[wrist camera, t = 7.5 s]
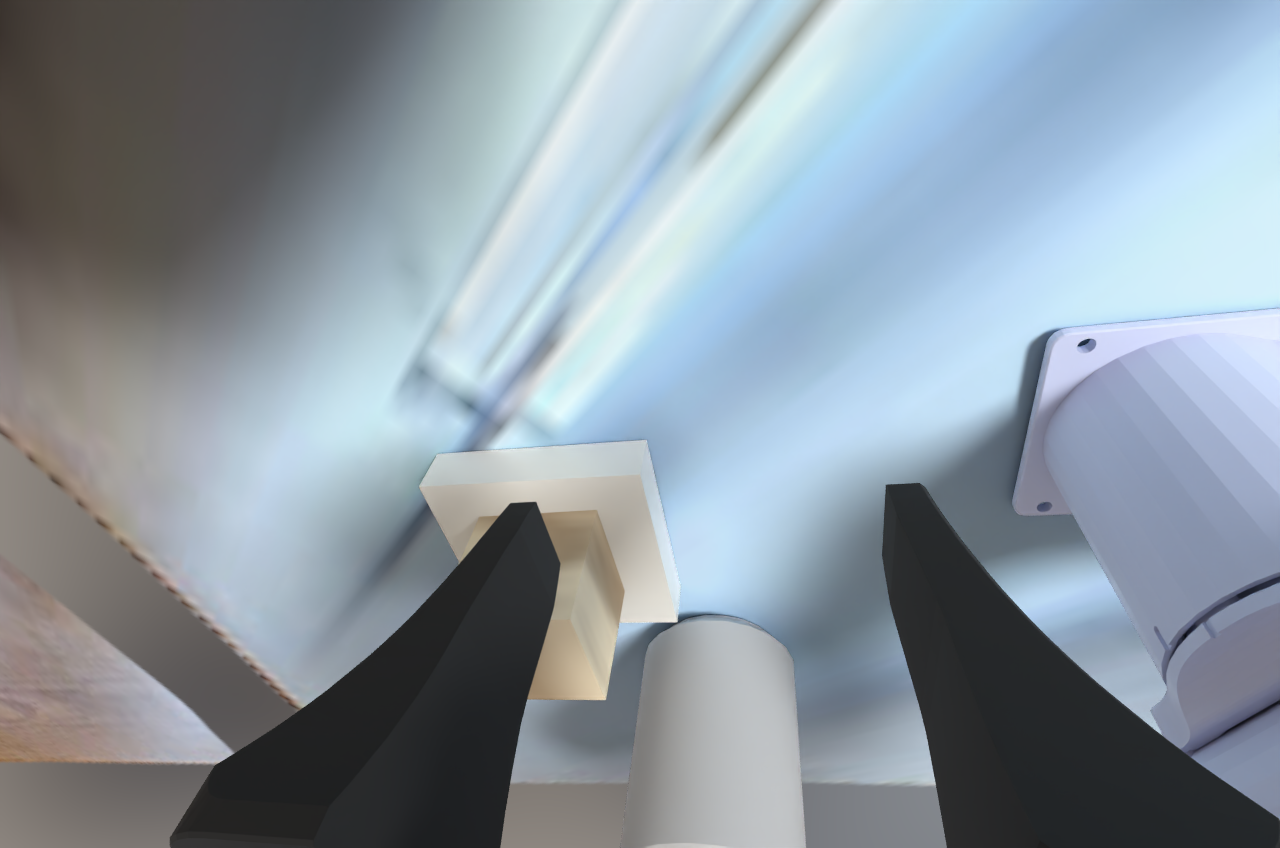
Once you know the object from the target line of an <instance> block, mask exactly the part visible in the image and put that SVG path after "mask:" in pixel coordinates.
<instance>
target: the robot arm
mask: <svg viewBox="0 0 1280 848" xmlns="http://www.w3.org/2000/svg"><path fill="white" fill-rule="evenodd" d="M1085 339H1090V341H1089V343H1087V344H1086V345H1084V346H1080V347H1078V344H1079V343H1080V342H1081V341H1083V340H1085ZM1043 502H1045V503H1044V504H1040V503H1043ZM1012 505H1013V508H1014V510H1015V511H1016V513H1017V514H1019V515H1022V516H1041V515H1068V514H1073V516H1074V518H1075V520H1076V521H1077V523H1078V525H1079V527H1080V529H1081V531H1082V532H1083V534H1084V536H1085V538H1086V540H1087V542H1088V543H1089V545H1090V547H1091V549H1092V551H1093V553H1094V554H1095V556H1096V558H1097V560H1098V562H1099V563H1100V565H1101V567H1102V569H1103V571H1104V573H1105V574H1106V576H1107V578H1108V580H1109V582H1110V584H1111V585H1112V587H1113V589H1114V591H1115V593H1116V595H1117V596H1118V598H1119V600H1120V602H1121V604H1122V605H1123V607H1124V609H1125V611H1126V613H1127V615H1128V616H1129V618H1130V620H1131V622H1132V624H1133V626H1134V627H1135V629H1136V631H1137V633H1138V635H1139V637H1140V638H1141V640H1142V642H1143V644H1144V646H1145V648H1146V649H1147V651H1148V653H1149V655H1150V657H1151V658H1152V660H1153V662H1154V664H1155V666H1156V668H1157V669H1158V671H1159V673H1160V675H1161V677H1162V679H1163V680H1164V682H1165V684H1166V686H1167V691H1166V694H1165V696H1164V697H1163V698H1162V700H1161V701H1160V702H1159V703H1157V704H1156V705H1155V706H1154V707H1152V709H1151V710H1150V711H1151V713H1152V715H1153V717H1154V719H1155V721H1156V723H1157V725H1158V727H1159V729H1160V731H1161V733H1162V735H1163V736H1162V735H1161V734H1159V733H1158V732H1157V731H1155V730H1154V729H1153V728H1152V727H1150V726H1149V725H1148V724H1147V723H1146V722H1144V721H1143V720H1142V719H1141V718H1140V717H1138V716H1137V715H1136V714H1135V713H1133V712H1132V711H1131V710H1130V709H1129V708H1127V707H1126V706H1125V705H1124V704H1122V703H1121V702H1120V701H1119V700H1118V699H1116V698H1115V697H1114V696H1113V695H1111V694H1110V693H1109V692H1108V691H1107V690H1105V689H1104V688H1103V687H1102V686H1100V685H1099V684H1098V683H1097V682H1096V681H1095V680H1094V679H1092V678H1091V677H1090V676H1089V675H1088V674H1087V673H1086V672H1085V671H1084V670H1082V669H1081V668H1080V667H1079V666H1078V665H1077V664H1076V663H1075V662H1074V661H1072V660H1071V659H1070V658H1069V657H1068V656H1067V655H1066V654H1065V653H1064V652H1063V651H1062V650H1061V649H1060V648H1059V647H1058V646H1057V645H1055V644H1054V643H1053V642H1052V641H1051V640H1050V639H1049V638H1048V637H1047V636H1046V635H1045V634H1044V633H1043V632H1042V631H1041V630H1040V629H1039V628H1038V627H1037V626H1036V625H1035V624H1034V623H1033V622H1032V621H1031V620H1030V619H1029V618H1028V617H1027V616H1026V615H1025V613H1024V612H1023V611H1022V610H1021V609H1020V608H1019V607H1018V606H1017V605H1016V604H1015V603H1014V602H1013V600H1012V599H1011V598H1010V597H1009V596H1008V595H1007V594H1006V593H1005V592H1004V591H1003V590H1002V588H1001V587H1000V586H999V585H998V584H997V583H996V581H995V580H994V579H993V578H992V577H991V576H990V574H989V573H988V572H987V571H986V570H985V568H984V567H983V566H982V565H981V564H980V562H979V561H978V560H977V559H976V557H975V556H974V555H973V554H972V553H971V551H970V550H969V549H968V548H967V546H966V545H965V544H964V542H963V541H962V540H961V539H960V537H959V536H958V535H957V533H956V532H955V530H954V529H953V528H952V526H951V525H950V524H949V522H948V521H947V520H946V518H945V517H944V515H943V514H942V512H941V511H940V510H939V508H938V507H937V505H936V504H935V502H934V501H933V499H932V497H931V496H930V494H929V493H928V491H927V489H926V488H925V487H924V486H923V485H921V484H920V483H911V484H890V485H886V494H885V512H884V530H883V549H882V557H883V564H884V570H885V576H886V582H887V588H888V594H889V600H890V605H891V609H892V612H893V616H894V619H895V623H896V626H897V630H898V633H899V637H900V641H901V644H902V648H903V651H904V654H905V658H906V661H907V665H908V668H909V672H910V675H911V679H912V682H913V686H914V689H915V693H916V696H917V700H918V703H919V707H920V710H921V714H922V718H923V722H924V726H925V730H926V735H927V739H928V745H929V750H930V755H931V761H932V766H933V772H934V777H935V782H936V788H937V793H938V798H939V805H940V810H941V815H942V822H943V827H944V833H945V838H946V844H947V848H1280V308H1277V309H1266V310H1256V311H1245V312H1234V313H1223V314H1212V315H1201V316H1191V317H1180V318H1169V319H1158V320H1147V321H1136V322H1126V323H1115V324H1104V325H1093V326H1082V327H1071V328H1065V329H1061V330H1059V331H1057V332H1055V333H1053V334H1052V335H1051V336H1050V337H1049V339H1048V341H1047V343H1046V348H1045V353H1044V357H1043V362H1042V366H1041V371H1040V375H1039V380H1038V385H1037V389H1036V394H1035V398H1034V403H1033V408H1032V412H1031V417H1030V421H1029V426H1028V431H1027V435H1026V440H1025V444H1024V449H1023V454H1022V458H1021V463H1020V467H1019V472H1018V476H1017V481H1016V486H1015V490H1014V495H1013V499H1012ZM560 565H561V563H560V561H559V558H558V556H557V553H556V551H555V548H554V545H553V543H552V540H551V538H550V535H549V533H548V530H547V528H546V525H545V523H544V520H543V518H542V515H541V513H540V510H539V508H538V505H537V502H519V503H510V504H509V505H508V506H507V507H506V508H505V510H504V511H503V512H502V513H501V514H500V516H499V517H498V518H497V519H496V520H495V522H494V523H493V524H492V525H491V526H490V528H489V529H488V530H487V531H486V532H485V534H484V535H483V536H482V537H481V539H480V540H479V541H478V542H477V543H476V545H475V546H474V547H473V548H472V549H471V551H470V552H469V553H468V554H467V555H466V557H465V558H464V559H463V560H462V561H461V562H460V564H459V565H458V566H457V567H456V568H455V569H454V571H453V572H452V573H451V574H450V575H449V576H448V578H447V579H446V580H445V581H444V582H443V583H442V584H441V585H440V586H439V587H438V589H437V590H436V591H435V592H434V593H433V594H432V595H431V596H430V597H429V598H428V599H427V600H426V601H425V603H424V604H423V605H422V606H421V607H420V608H419V609H418V610H417V611H416V612H415V613H414V614H413V615H412V616H411V617H410V618H409V619H408V620H407V621H406V622H405V623H404V624H403V625H402V626H401V627H400V628H399V629H398V630H397V631H396V632H395V633H394V634H393V635H392V636H391V637H389V638H388V639H387V640H386V641H385V642H384V643H383V644H382V645H381V646H380V647H379V648H377V649H376V650H375V651H374V652H373V653H372V654H371V655H370V656H368V657H367V658H366V659H365V660H364V661H362V662H361V663H360V664H359V665H357V666H356V667H355V668H354V669H353V670H351V671H350V672H349V673H348V674H346V675H345V676H344V677H343V678H342V679H340V680H339V681H338V682H337V683H335V684H334V685H333V686H332V687H331V688H329V689H328V690H327V691H325V692H324V693H323V694H321V695H320V696H319V697H317V698H316V699H315V700H313V701H312V702H311V703H309V704H308V705H307V706H305V707H304V708H302V709H301V710H300V711H298V712H297V713H295V714H294V715H292V716H291V717H290V718H288V719H287V720H285V721H284V722H283V723H281V724H280V725H278V726H277V727H275V728H274V729H272V730H271V731H269V732H268V733H266V734H264V735H263V736H261V737H260V738H258V739H257V740H255V741H253V742H252V743H250V744H249V745H247V746H246V747H244V748H242V749H241V750H239V751H238V752H236V753H234V754H233V755H231V756H230V757H228V758H227V759H225V760H223V761H222V762H220V763H218V764H217V765H215V766H214V768H213V770H212V771H211V772H210V774H209V776H208V777H207V779H206V780H205V782H204V784H203V785H202V787H201V789H200V790H199V792H198V793H197V795H196V797H195V798H194V800H193V801H192V803H191V805H190V806H189V808H188V810H187V811H186V813H185V814H184V816H183V818H182V819H181V821H180V823H179V824H178V826H177V827H176V829H175V831H174V832H173V834H172V836H171V837H170V847H171V848H500V845H501V838H502V831H503V824H504V817H505V810H506V804H507V798H508V792H509V786H510V780H511V774H512V768H513V763H514V758H515V752H516V747H517V742H518V736H519V731H520V726H521V721H522V717H523V713H524V709H525V705H526V702H527V698H528V695H529V692H530V688H531V685H532V681H533V678H534V675H535V671H536V668H537V665H538V661H539V658H540V654H541V651H542V648H543V644H544V641H545V637H546V634H547V630H548V627H549V623H550V620H551V616H552V613H553V609H554V604H555V598H556V592H557V586H558V579H559V572H560Z"/></svg>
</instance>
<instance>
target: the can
mask: <svg viewBox="0 0 1280 848" xmlns="http://www.w3.org/2000/svg"><path fill="white" fill-rule="evenodd" d="M805 841H806V840H805V825H804V811H803V795H802V780H801V766H800V751H799V736H798V721H797V706H796V691H795V676H794V661H793V659H792V657H791V655H790V654H789V652H788V650H787V649H786V647H785V646H784V645H783V644H781V643H780V642H779V641H777V640H776V639H775V638H774V637H772V636H771V635H770V634H768V633H767V632H766V631H764V630H763V629H762V628H760V627H759V626H757V625H755V624H753V623H750V622H748V621H746V620H743V619H740V618H735V617H730V616H725V615H702V616H697V617H692V618H687V619H685V620H683V621H681V622H679V623H677V624H674V625H673V626H672V627H671V628H669V629H667V630H665V631H663V632H661V633H659V634H658V635H657V636H656V637H655V638H654V639H653V640H652V641H651V642H650V643H649V645H648V649H647V652H646V655H645V662H644V669H643V677H642V684H641V692H640V699H639V707H638V715H637V722H636V730H635V737H634V745H633V753H632V760H631V768H630V775H629V783H628V790H627V798H626V806H625V814H624V821H623V828H622V836H621V843H620V848H806V842H805Z"/></svg>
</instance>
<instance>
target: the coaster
mask: <svg viewBox="0 0 1280 848" xmlns="http://www.w3.org/2000/svg"><path fill="white" fill-rule="evenodd" d="M419 488H420V490H421V492H422V494H423V496H424V498H425V499H426V501H427V503H428V505H429V507H430V509H431V511H432V513H433V514H434V516H435V518H436V520H437V522H438V524H439V526H440V527H441V529H442V531H443V533H444V535H445V537H446V539H447V540H448V542H449V544H450V546H451V548H452V550H453V552H454V554H455V555H456V557H457V559H458V561H459V562H460V560H461V557H462V555H463V553H464V550H465V548H466V546H467V544H468V541H469V539H470V537H471V534H472V532H473V530H474V528H475V525H476V523H477V521H478V518H479V517H483V516H500V514H501V513H502V512H503V511H504V510H505V508H506V507H507V506H508V505H509V504H510V503H519V502H537V505H538V508H539V510H540V513H552V512H569V511H586V510H597V512H598V515H599V517H600V520H601V523H602V526H603V529H604V532H605V535H606V538H607V541H608V543H609V546H610V549H611V552H612V555H613V558H614V561H615V564H616V567H617V569H618V572H619V575H620V578H621V581H622V584H623V587H624V590H625V593H624V599H623V605H622V610H621V616H620V622H619V623H642V622H678V612H679V601H680V590H681V585H680V580H679V576H678V572H677V567H676V563H675V559H674V555H673V550H672V546H671V542H670V538H669V533H668V529H667V525H666V521H665V516H664V512H663V508H662V503H661V499H660V495H659V491H658V486H657V482H656V478H655V474H654V469H653V465H652V461H651V457H650V452H649V448H648V444H647V440H635V441H621V442H606V443H591V444H576V445H561V446H547V447H532V448H517V449H502V450H487V451H473V452H458V453H443V454H437V455H436V457H435V459H434V461H433V462H432V464H431V466H430V468H429V470H428V471H427V473H426V475H425V477H424V478H423V480H422V482H421V484H420V485H419Z"/></svg>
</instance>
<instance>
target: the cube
mask: <svg viewBox="0 0 1280 848" xmlns="http://www.w3.org/2000/svg"><path fill="white" fill-rule="evenodd" d="M541 515H542V518H543V520H544V523H545V525H546V528H547V530H548V533H549V535H550V538H551V540H552V543H553V545H554V548H555V551H556V553H557V556H558V558H559V561H560V563H561V565H560V572H559V579H558V586H557V592H556V598H555V604H554V609H553V613H552V616H551V620H550V623H549V627H548V630H547V634H546V637H545V641H544V644H543V648H542V651H541V654H540V658H539V661H538V665H537V668H536V671H535V675H534V678H533V681H532V685H531V688H530V692H529V695H528V698H527V699H544V700H606V696H607V691H608V685H609V679H610V673H611V668H612V662H613V656H614V651H615V645H616V639H617V633H618V628H619V622H620V616H621V610H622V605H623V599H624V593H625V590H624V587H623V584H622V581H621V578H620V575H619V572H618V569H617V567H616V564H615V561H614V558H613V555H612V552H611V549H610V546H609V543H608V541H607V538H606V535H605V532H604V529H603V526H602V523H601V520H600V517H599V515H598V512H597V510H586V511H569V512H552V513H541ZM498 517H499V516H483V517H479V518H478V521H477V523H476V525H475V528H474V530H473V532H472V534H471V537H470V539H469V541H468V544H467V546H466V548H465V550H464V553H463V555H462V557H461V560H460V562H461V561H462V560H463V559H464V558H465V557H466V555H467V554H468V553H469V552H470V551H471V549H472V548H473V547H474V546H475V545H476V543H477V542H478V541H479V540H480V539H481V537H482V536H483V535H484V534H485V532H486V531H487V530H488V529H489V528H490V526H491V525H492V524H493V523H494V522H495V520H496V519H497V518H498ZM460 562H459V564H460ZM459 564H458V565H459Z"/></svg>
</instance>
